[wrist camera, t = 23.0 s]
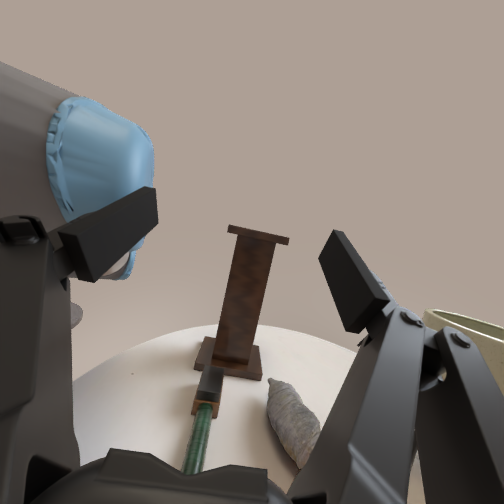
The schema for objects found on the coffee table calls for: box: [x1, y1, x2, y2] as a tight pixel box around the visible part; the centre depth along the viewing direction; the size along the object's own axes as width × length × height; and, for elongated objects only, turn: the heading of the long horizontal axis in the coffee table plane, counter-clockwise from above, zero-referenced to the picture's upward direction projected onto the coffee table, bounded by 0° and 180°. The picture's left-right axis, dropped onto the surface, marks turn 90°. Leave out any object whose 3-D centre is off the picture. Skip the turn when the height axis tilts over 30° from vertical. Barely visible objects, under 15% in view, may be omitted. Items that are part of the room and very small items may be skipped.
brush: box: [181, 365, 224, 475], centre depth 24 cm, size 21×4×4 cm, turn 3°
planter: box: [410, 309, 504, 471], centre depth 28 cm, size 15×16×23 cm
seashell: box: [267, 378, 321, 469], centre depth 29 cm, size 6×14×8 cm, turn 23°
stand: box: [194, 225, 289, 381], centre depth 42 cm, size 14×10×30 cm
